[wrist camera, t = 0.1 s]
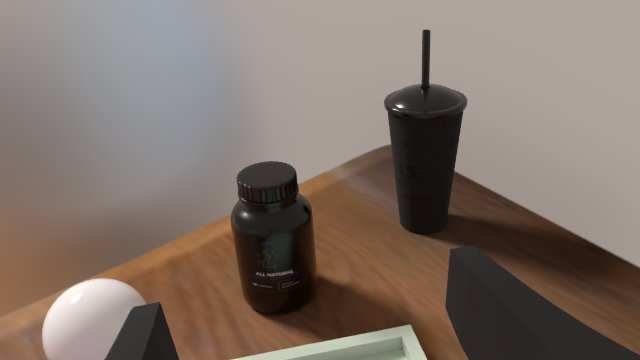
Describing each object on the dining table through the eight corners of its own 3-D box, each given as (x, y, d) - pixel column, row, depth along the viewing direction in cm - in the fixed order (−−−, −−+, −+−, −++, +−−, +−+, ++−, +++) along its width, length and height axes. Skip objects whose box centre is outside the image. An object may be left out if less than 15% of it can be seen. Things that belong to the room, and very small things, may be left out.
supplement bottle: (270, 329, 42) (249, 205, 36) (230, 289, 47) (206, 174, 41) (334, 291, 46) (324, 172, 40) (291, 258, 51) (277, 147, 45)
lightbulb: (66, 456, 33) (4, 332, 28) (102, 377, 39) (56, 261, 34) (162, 451, 33) (117, 325, 28) (184, 372, 39) (151, 255, 34)
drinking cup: (402, 197, 59) (402, 20, 50) (468, 211, 55) (481, 22, 46) (374, 231, 53) (368, 38, 44) (446, 249, 50) (455, 43, 40)
